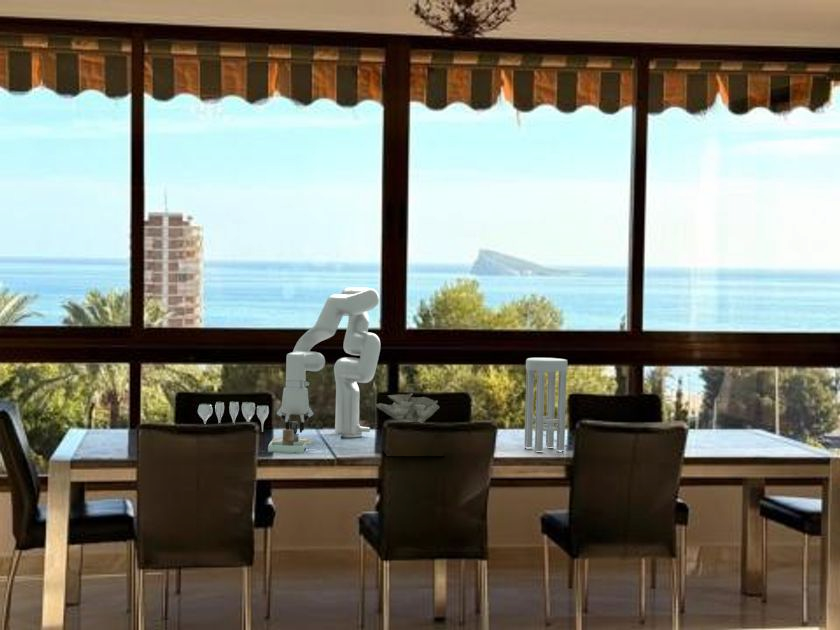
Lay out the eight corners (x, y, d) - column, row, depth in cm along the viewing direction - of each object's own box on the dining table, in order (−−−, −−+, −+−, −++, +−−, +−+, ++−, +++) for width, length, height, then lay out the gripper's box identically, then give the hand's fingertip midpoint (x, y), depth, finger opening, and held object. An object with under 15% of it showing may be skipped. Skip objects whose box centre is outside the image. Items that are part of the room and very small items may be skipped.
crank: (298, 442, 467) (298, 425, 467) (287, 441, 467) (288, 425, 466) (298, 437, 478) (299, 421, 478) (288, 437, 478) (288, 421, 478)
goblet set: (268, 434, 498) (269, 402, 497) (267, 436, 492) (268, 403, 492) (198, 433, 497) (199, 400, 496) (196, 435, 491) (197, 402, 490)
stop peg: (293, 448, 459) (294, 429, 459) (292, 449, 455) (293, 430, 455) (283, 447, 459) (283, 429, 459) (281, 449, 455) (282, 430, 455)
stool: (517, 448, 479) (519, 357, 477) (553, 446, 484) (555, 357, 483) (534, 454, 464) (537, 360, 463) (571, 452, 470) (574, 360, 468)
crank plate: (312, 442, 478) (312, 438, 478) (309, 448, 463) (309, 444, 463) (273, 441, 478) (273, 437, 478) (269, 447, 463) (269, 443, 463)
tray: (306, 448, 462) (306, 442, 462) (303, 453, 452) (303, 446, 452) (271, 448, 462) (271, 441, 462) (268, 452, 452) (268, 445, 452)
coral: (376, 456, 449) (377, 397, 448) (372, 448, 469) (374, 391, 468) (444, 457, 451) (446, 398, 450) (438, 449, 471) (439, 392, 471)
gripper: (318, 384, 480) (316, 431, 481) (274, 383, 480) (273, 430, 480) (317, 386, 473) (315, 434, 473) (272, 385, 472) (271, 433, 473)
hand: (294, 431), depth 477 cm, fingers open, 4 cm apart
